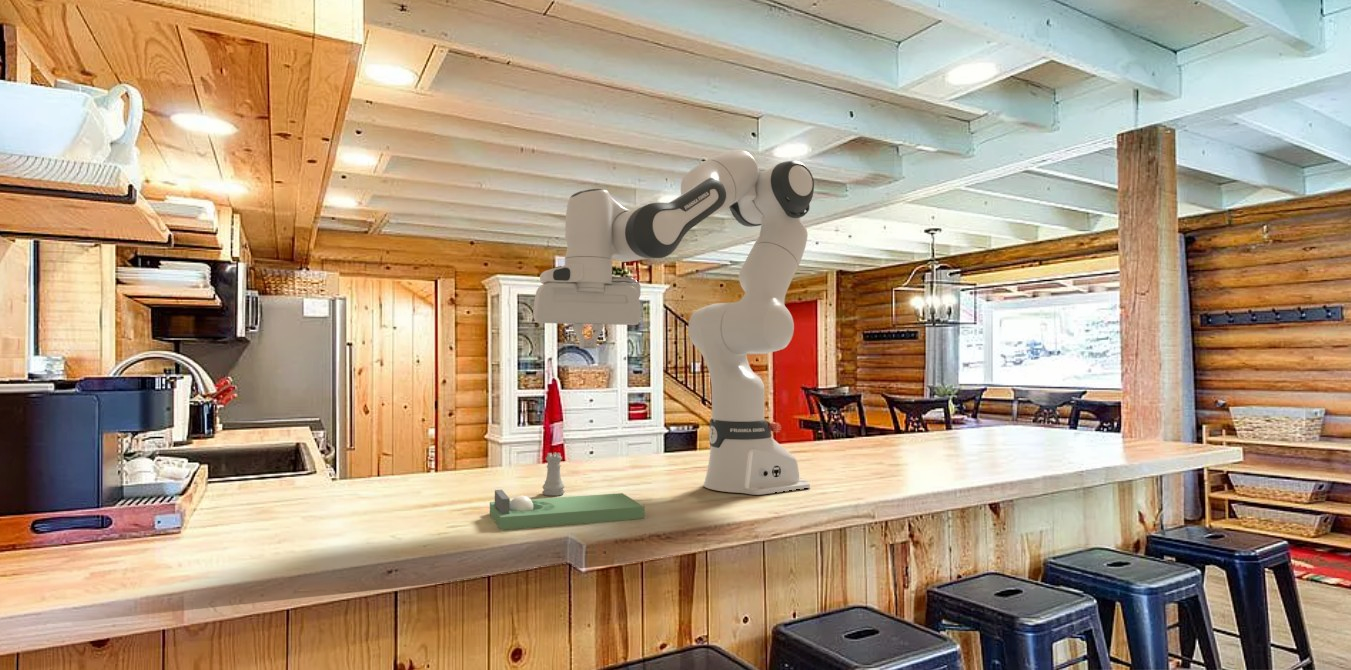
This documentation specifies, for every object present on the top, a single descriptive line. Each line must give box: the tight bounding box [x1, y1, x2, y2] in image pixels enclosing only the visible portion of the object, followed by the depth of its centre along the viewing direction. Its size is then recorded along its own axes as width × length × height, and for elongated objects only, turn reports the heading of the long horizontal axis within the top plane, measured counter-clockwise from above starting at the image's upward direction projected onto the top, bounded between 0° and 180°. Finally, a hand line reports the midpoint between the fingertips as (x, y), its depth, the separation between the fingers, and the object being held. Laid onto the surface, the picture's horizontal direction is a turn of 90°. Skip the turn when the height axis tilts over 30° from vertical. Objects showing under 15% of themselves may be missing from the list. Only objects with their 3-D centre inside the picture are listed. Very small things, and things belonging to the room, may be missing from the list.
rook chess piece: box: [541, 452, 566, 497], centre depth 140 cm, size 4×4×8 cm
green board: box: [489, 489, 645, 531], centre depth 122 cm, size 24×12×4 cm, turn 112°
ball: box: [510, 494, 533, 511], centre depth 119 cm, size 4×4×4 cm
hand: (587, 348), depth 134 cm, fingers closed
